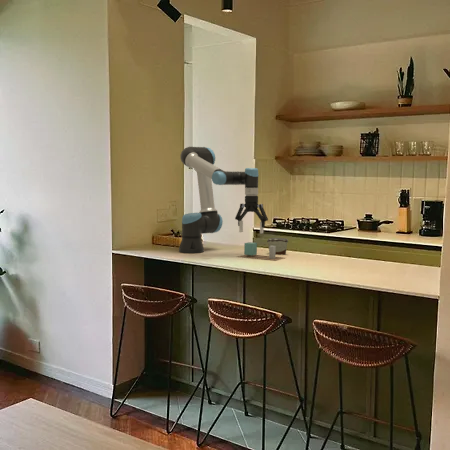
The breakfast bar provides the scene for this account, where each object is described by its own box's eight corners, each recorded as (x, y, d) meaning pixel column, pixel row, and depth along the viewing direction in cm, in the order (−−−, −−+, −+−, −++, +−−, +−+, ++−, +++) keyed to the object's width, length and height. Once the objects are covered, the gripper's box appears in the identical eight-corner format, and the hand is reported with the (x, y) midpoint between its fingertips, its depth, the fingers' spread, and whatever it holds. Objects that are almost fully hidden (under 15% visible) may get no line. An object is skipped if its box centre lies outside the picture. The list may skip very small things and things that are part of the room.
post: (269, 258, 313) (269, 246, 312) (271, 257, 315) (271, 245, 314) (273, 258, 311) (273, 246, 311) (275, 258, 314) (275, 245, 313)
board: (235, 258, 318) (235, 256, 318) (248, 255, 330) (248, 253, 330) (275, 262, 304) (275, 260, 304) (286, 259, 316) (286, 257, 316)
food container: (287, 254, 334) (288, 238, 333) (288, 256, 328) (288, 239, 327) (267, 254, 335) (267, 237, 334) (266, 255, 329) (267, 238, 328)
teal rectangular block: (244, 254, 320) (244, 243, 319) (248, 253, 324) (249, 242, 324) (252, 255, 317) (252, 243, 316) (256, 254, 321) (256, 242, 321)
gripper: (229, 195, 321) (229, 232, 323) (267, 195, 308) (267, 234, 309) (236, 194, 327) (236, 231, 329) (274, 195, 314) (273, 233, 316)
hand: (251, 232), depth 319 cm, fingers open, 13 cm apart
